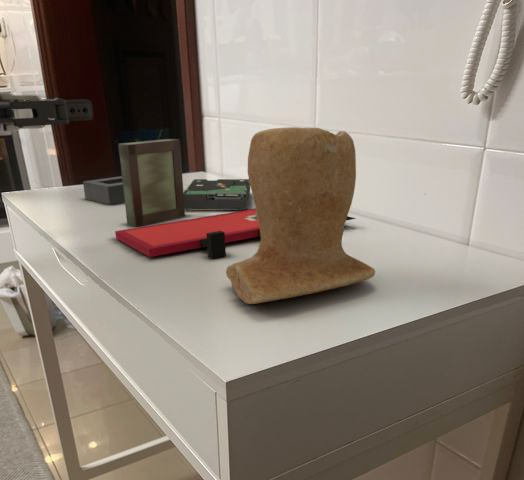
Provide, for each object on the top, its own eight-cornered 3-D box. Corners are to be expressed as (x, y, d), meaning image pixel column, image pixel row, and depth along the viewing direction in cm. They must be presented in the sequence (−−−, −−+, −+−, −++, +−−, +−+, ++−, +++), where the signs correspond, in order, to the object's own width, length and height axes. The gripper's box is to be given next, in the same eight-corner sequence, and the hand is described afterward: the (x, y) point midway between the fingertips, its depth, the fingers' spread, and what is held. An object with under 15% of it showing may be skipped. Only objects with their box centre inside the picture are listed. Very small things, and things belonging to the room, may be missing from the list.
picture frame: (136, 226, 79) (127, 144, 74) (127, 224, 81) (117, 143, 76) (185, 216, 85) (180, 139, 80) (176, 214, 86) (170, 138, 82)
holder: (85, 199, 98) (82, 181, 97) (151, 188, 107) (149, 172, 106) (110, 205, 93) (107, 186, 92) (176, 193, 102) (175, 176, 101)
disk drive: (193, 194, 102) (183, 211, 88) (192, 179, 100) (181, 192, 87) (250, 194, 102) (248, 210, 88) (250, 178, 100) (248, 192, 87)
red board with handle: (365, 227, 76) (300, 210, 88) (366, 206, 75) (300, 192, 87) (163, 268, 62) (116, 241, 73) (160, 243, 61) (113, 220, 72)
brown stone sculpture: (319, 260, 64) (324, 119, 57) (390, 290, 55) (406, 126, 48) (198, 283, 57) (189, 125, 51) (257, 321, 48) (254, 135, 41)
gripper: (-52, 73, 52) (100, 74, 63) (-102, 75, 61) (39, 76, 71) (-33, 157, 55) (108, 144, 66) (-83, 148, 64) (49, 138, 75)
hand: (72, 109), depth 69 cm, fingers open, 8 cm apart
